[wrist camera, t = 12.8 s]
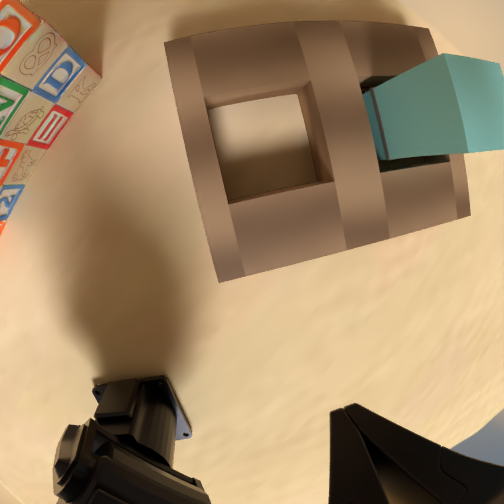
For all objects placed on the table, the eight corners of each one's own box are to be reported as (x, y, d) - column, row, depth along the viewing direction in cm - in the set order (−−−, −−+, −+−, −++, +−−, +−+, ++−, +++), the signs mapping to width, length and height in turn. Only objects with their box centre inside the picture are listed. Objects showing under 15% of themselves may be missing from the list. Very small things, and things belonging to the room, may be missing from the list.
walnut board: (445, 211, 21) (470, 215, 18) (218, 268, 20) (218, 283, 17) (407, 41, 18) (428, 28, 15) (170, 61, 17) (163, 42, 14)
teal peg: (416, 155, 20) (520, 148, 10) (365, 162, 20) (468, 154, 10) (402, 96, 19) (499, 62, 9) (351, 99, 19) (442, 52, 9)
